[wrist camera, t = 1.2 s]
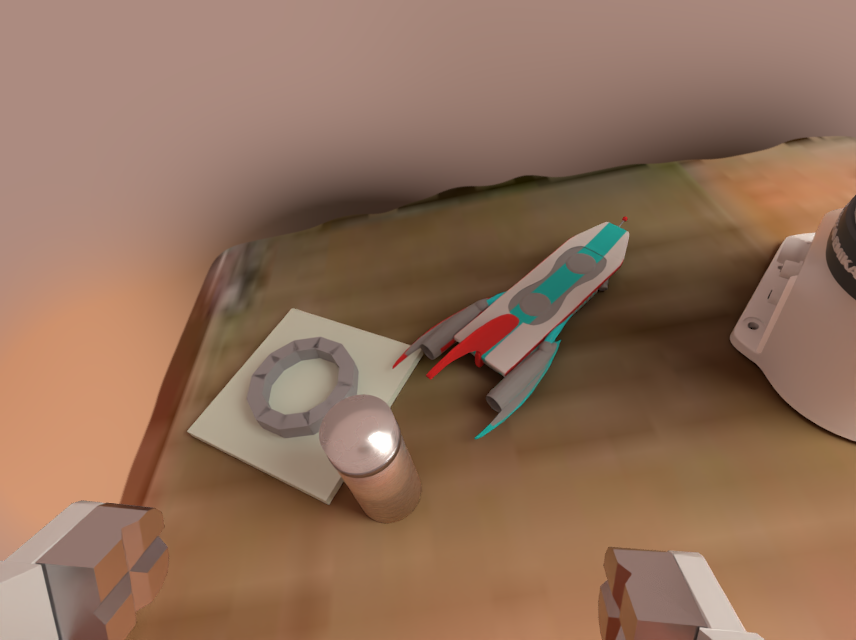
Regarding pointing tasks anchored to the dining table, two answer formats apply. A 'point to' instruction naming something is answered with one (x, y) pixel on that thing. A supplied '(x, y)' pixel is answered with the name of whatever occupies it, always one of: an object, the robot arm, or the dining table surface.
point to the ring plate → (300, 397)
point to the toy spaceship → (527, 317)
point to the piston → (371, 457)
